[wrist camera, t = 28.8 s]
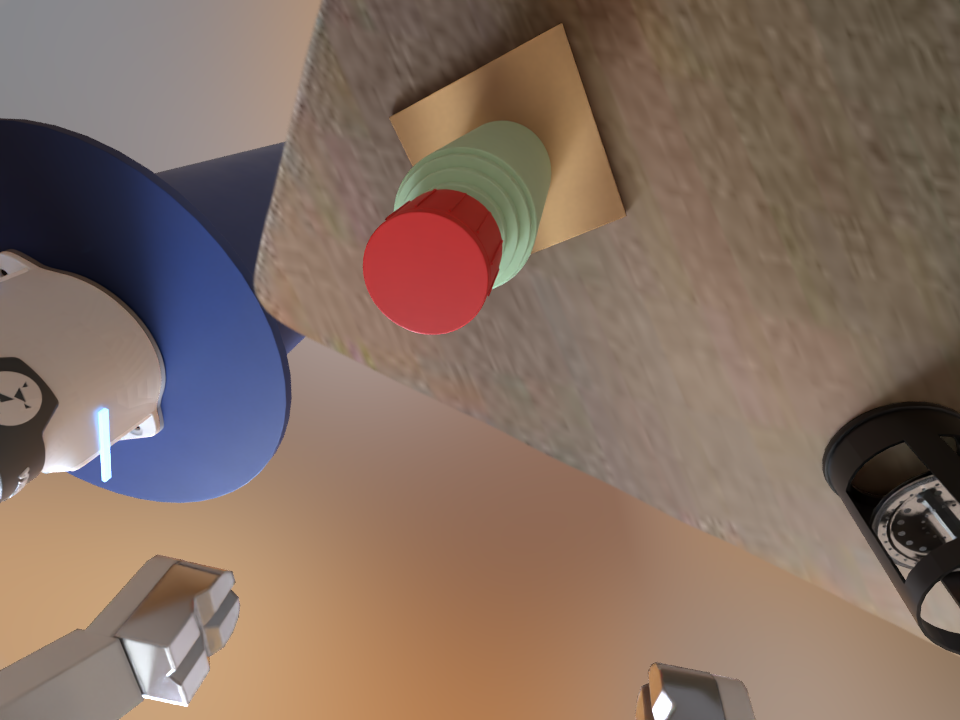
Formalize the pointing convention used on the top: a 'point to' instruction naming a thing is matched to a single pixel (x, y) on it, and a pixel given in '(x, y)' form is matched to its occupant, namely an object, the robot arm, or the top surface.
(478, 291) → the red cap
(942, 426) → the french press
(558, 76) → the cork coaster
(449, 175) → the sauce bottle
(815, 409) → the top surface
